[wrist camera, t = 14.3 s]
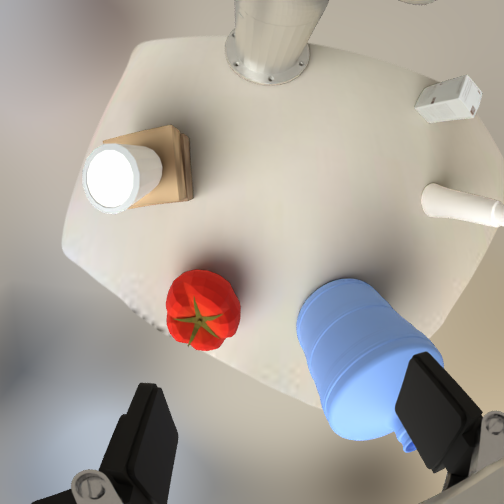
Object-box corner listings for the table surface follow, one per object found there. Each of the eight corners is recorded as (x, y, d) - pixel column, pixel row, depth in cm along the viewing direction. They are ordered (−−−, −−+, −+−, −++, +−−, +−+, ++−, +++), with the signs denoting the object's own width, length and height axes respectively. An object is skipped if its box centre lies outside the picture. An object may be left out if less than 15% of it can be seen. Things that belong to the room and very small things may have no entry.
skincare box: (423, 86, 36) (466, 70, 24) (440, 103, 36) (484, 92, 25) (412, 109, 37) (457, 95, 25) (429, 126, 38) (475, 118, 26)
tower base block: (132, 146, 37) (120, 143, 33) (189, 138, 37) (183, 133, 33) (136, 205, 40) (125, 208, 35) (193, 198, 40) (187, 201, 35)
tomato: (219, 250, 42) (213, 270, 33) (251, 316, 45) (254, 347, 36) (158, 278, 42) (140, 301, 34) (194, 338, 45) (185, 371, 37)
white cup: (107, 161, 29) (71, 169, 23) (150, 129, 27) (119, 128, 21) (132, 209, 31) (101, 226, 25) (178, 180, 30) (152, 192, 23)
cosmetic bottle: (432, 224, 42) (525, 257, 21) (415, 200, 41) (514, 224, 20) (449, 199, 41) (541, 221, 20) (432, 176, 40) (530, 186, 19)
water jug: (286, 353, 47) (321, 493, 20) (307, 270, 43) (391, 394, 16) (363, 357, 48) (430, 467, 21) (390, 281, 44) (500, 372, 17)
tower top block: (117, 144, 33) (102, 140, 28) (179, 131, 33) (171, 124, 29) (124, 208, 35) (110, 212, 31) (186, 198, 35) (179, 200, 31)
